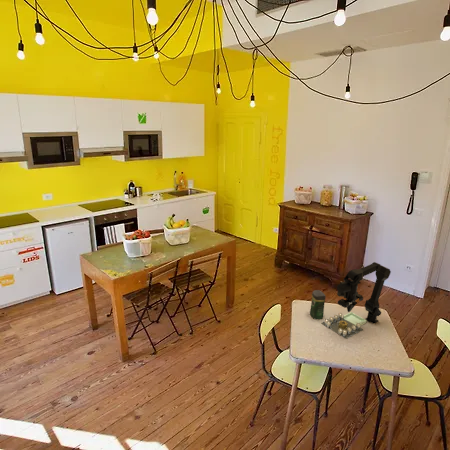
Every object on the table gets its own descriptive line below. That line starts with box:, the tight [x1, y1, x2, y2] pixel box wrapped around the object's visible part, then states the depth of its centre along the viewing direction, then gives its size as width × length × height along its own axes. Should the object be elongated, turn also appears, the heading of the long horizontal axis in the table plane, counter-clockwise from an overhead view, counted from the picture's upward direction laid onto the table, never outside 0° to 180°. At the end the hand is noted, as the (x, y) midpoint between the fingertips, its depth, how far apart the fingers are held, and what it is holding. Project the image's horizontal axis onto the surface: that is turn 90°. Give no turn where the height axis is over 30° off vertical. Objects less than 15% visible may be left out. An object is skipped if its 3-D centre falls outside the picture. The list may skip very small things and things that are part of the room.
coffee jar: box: [309, 289, 327, 320], centre depth 231 cm, size 10×8×19 cm
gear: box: [338, 321, 348, 329], centre depth 222 cm, size 6×6×2 cm
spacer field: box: [320, 312, 364, 340], centre depth 221 cm, size 18×20×4 cm
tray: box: [342, 311, 368, 327], centre depth 229 cm, size 9×12×2 cm
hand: (348, 311), depth 218 cm, fingers closed
